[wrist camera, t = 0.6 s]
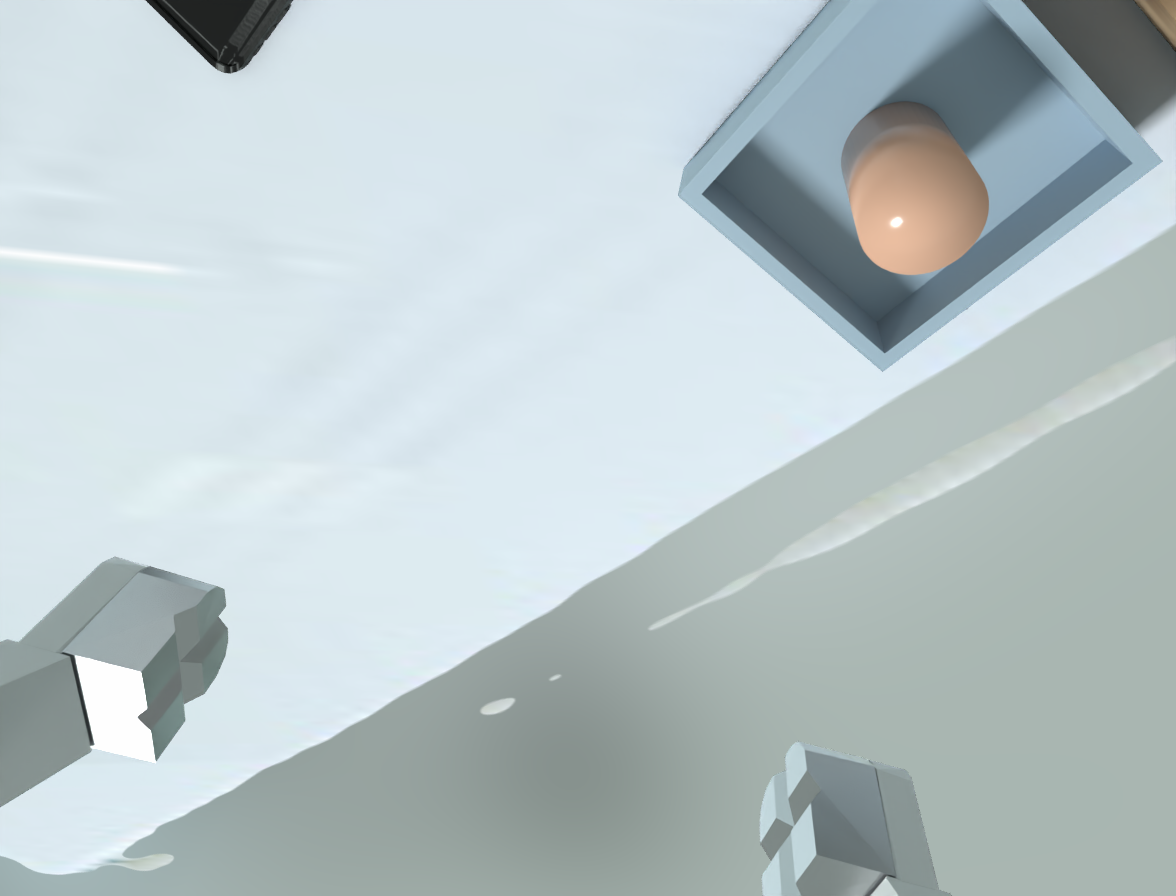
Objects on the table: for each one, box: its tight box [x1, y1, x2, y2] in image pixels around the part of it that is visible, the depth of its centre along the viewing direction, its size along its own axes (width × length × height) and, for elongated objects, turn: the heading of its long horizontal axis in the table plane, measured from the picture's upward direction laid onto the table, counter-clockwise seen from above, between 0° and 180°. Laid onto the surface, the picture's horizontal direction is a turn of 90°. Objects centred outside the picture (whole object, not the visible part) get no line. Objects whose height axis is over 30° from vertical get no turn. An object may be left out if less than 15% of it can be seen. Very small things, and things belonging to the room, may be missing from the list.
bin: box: [678, 0, 1163, 372], centre depth 36 cm, size 15×15×4 cm
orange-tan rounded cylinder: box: [841, 101, 989, 275], centre depth 34 cm, size 5×5×8 cm
